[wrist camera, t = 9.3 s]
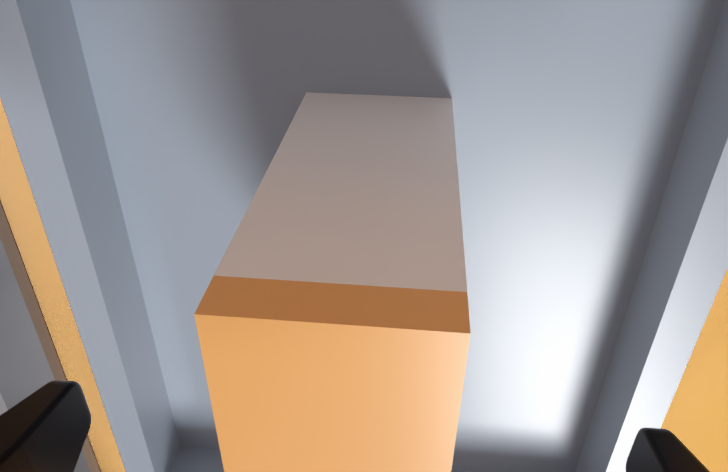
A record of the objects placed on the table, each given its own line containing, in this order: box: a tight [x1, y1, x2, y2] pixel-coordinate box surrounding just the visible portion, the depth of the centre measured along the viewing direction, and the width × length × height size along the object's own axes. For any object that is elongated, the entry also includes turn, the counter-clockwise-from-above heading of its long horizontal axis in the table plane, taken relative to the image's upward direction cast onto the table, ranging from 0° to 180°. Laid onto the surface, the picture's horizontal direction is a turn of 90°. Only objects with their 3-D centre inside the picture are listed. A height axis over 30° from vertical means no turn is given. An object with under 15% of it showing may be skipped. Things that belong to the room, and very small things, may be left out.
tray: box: [0, 0, 728, 472], centre depth 15 cm, size 23×16×2 cm
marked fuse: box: [194, 92, 471, 472], centre depth 12 cm, size 6×3×8 cm, turn 0°
